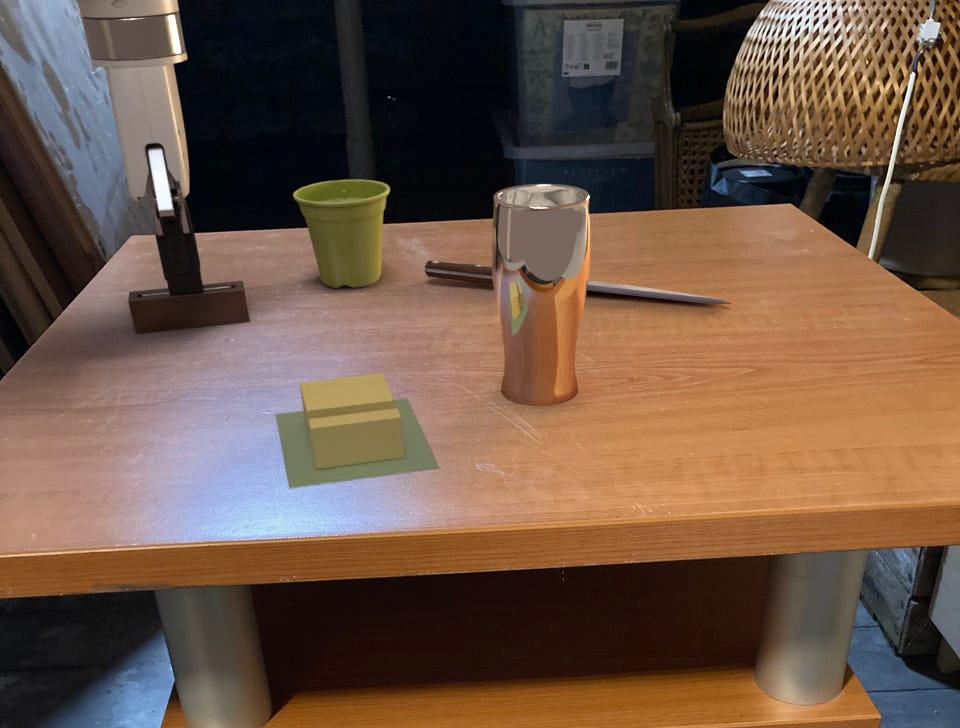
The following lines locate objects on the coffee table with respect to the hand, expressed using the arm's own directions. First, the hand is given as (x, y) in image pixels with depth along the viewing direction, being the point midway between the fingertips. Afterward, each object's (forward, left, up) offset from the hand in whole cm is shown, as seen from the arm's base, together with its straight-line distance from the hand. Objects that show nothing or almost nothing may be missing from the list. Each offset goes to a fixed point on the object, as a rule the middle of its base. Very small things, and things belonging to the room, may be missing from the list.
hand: (183, 273), depth 91 cm
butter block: (+11, -30, -4) cm, 32 cm away
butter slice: (+11, -35, -4) cm, 36 cm away
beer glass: (+26, -27, -5) cm, 38 cm away
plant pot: (+16, +8, -5) cm, 19 cm away
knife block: (0, 0, -5) cm, 5 cm away
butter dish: (+11, -31, -5) cm, 34 cm away
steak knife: (+36, -3, -5) cm, 36 cm away
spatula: (0, 0, -5) cm, 5 cm away
